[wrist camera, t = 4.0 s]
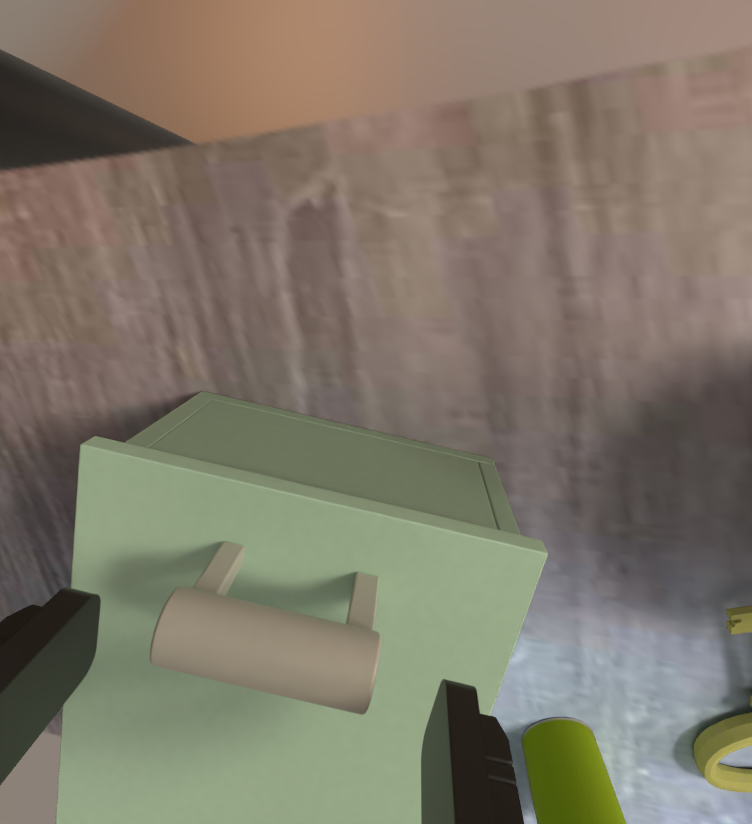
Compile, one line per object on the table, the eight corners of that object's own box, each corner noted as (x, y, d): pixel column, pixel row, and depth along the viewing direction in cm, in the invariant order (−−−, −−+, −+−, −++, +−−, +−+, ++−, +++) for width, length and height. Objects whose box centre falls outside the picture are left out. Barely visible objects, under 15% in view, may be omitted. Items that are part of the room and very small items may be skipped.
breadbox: (202, 390, 25) (93, 461, 17) (493, 458, 25) (533, 564, 17) (166, 664, 30) (66, 829, 21) (412, 722, 29) (411, 911, 21)
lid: (94, 434, 16) (-43, 514, 11) (543, 539, 16) (597, 664, 11) (65, 830, 21) (-40, 1006, 16) (411, 912, 21) (410, 1112, 16)
